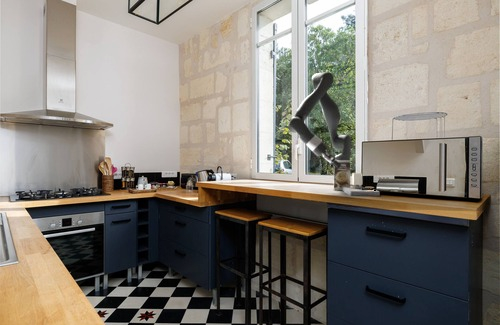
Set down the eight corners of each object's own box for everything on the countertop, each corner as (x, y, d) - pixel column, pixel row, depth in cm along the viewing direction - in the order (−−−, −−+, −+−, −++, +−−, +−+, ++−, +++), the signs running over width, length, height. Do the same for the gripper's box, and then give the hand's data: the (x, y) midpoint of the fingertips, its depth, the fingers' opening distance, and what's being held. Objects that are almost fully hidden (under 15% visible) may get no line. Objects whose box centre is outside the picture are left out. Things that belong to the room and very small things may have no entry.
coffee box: (333, 190, 159) (333, 162, 159) (333, 189, 165) (333, 162, 165) (350, 190, 156) (350, 161, 156) (350, 189, 162) (349, 162, 162)
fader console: (343, 191, 153) (343, 187, 153) (368, 191, 151) (368, 187, 151) (350, 195, 132) (350, 191, 132) (379, 195, 130) (379, 191, 130)
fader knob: (352, 187, 150) (352, 173, 150) (360, 187, 149) (360, 173, 149) (353, 188, 146) (353, 173, 146) (362, 188, 145) (362, 173, 145)
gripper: (323, 139, 144) (346, 161, 142) (320, 141, 158) (341, 161, 156) (312, 150, 145) (335, 172, 143) (311, 151, 159) (332, 171, 157)
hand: (338, 166), depth 149 cm, fingers open, 8 cm apart
